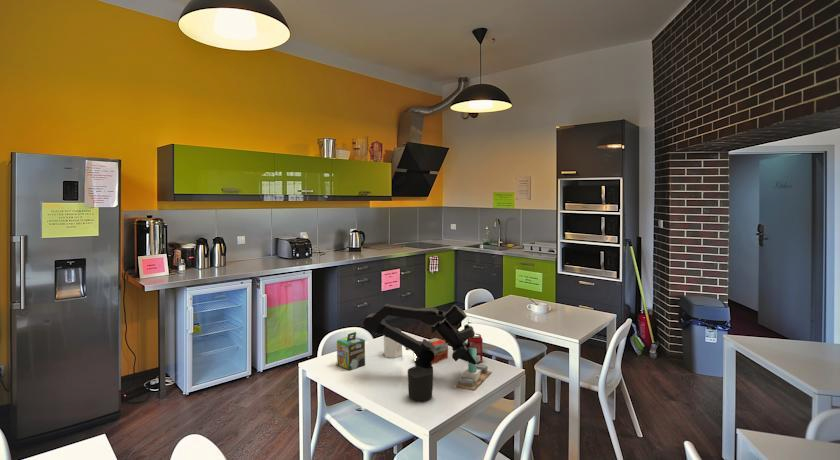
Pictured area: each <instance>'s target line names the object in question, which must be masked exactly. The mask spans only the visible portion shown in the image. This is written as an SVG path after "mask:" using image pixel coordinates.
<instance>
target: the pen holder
mask: <svg viewBox="0 0 840 460" xmlns="http://www.w3.org/2000/svg"><path fill="white" fill-rule="evenodd" d="M433 381H434V368H433V369H431V368H429V369H424V368H421V367H415V366H412V367H410V368H408V369H407V386H408V398H409V399H410V400H411V401H412V402H416V403H424V402H428V401H430V400H431V399H432V398H433V389H434V388H433V387H434V382H433Z"/></svg>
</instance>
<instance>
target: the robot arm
mask: <svg viewBox="0 0 840 460" xmlns="http://www.w3.org/2000/svg"><path fill="white" fill-rule="evenodd" d="M388 316H392V317H399V318H406V319H412V320H417V321H419V322H421V323H422V324H423V323H424V324H427V325H429V326H431V327H430V329H431V331H430V332H431V334H434V332H437V333H438V335H439V336H440V337H442V338H443V339H444V341H445V343H446V344H447V343H448V346H450V347H451V349H452V355H451V357H452V359H453V360H454V361H455V362H458V360H462V361H464V362H467V363H468V362H469V363H472V364H474V365H475V364H477V363H476V361H475V359H474V358H473V357H472V355H471V354H470V352H469V348H470V341H469V342H468V340H469V339H470V338H472V337H474V336H475V333H476V332H475V330H474V327H473V326H472V325H470V324H468V323H467V324H465V325H464V327H463V329H461V330H459V329H457V328H454V327H457V326H459V325H460V323H462V322H463V321H464V320H465V319H466V318H468V315H467V313H466V312H465V311H464V310H463V309H462V308H461V307H459V306H458V305H456V304H453V305H452V306H451V308H450V309H449V310H448V311H443V310H439V309H437V308H436V307H434V306H433V307H432V306H431V307H429V306H428V307H419V308H415V307H409V306H402V305H395V304H391V303H385V305H384V306H382V308H380V309H379V310H377V311H376V312H373V313H370V314H368V316H366V318H364V319H363V328H364V330H365V331H369V332H371V333H375V334H381V335H383V336H384V335H385V336H387V337H389V338H390V339H392V340H394V341H396V342H398V343H399V344H401V345H402V347H403V346H404V347H405V348H406V349H409V350H410V351H412V352H413V354H414V353H415V354H416V356H417V358H416V361H415V362H414V363H415V364H414V367H421V368H424V369H429V368H431V369H433V370H434V367H433V364H431V361H433V359H434V357H435V354H436V348H435V346H434V345H432V344H433V343H430V342H428V339H425V338H423V340H417V339H415V338H414V337H411V336H410V335H408V334H406V333H404V332H402V330H401V331H399V330H397V329H395V328H396V327H393V326H392V325H389V323H387V322H386V320H385V318H386V317H388ZM467 342H468V343H467ZM476 360H477V358H476Z"/></svg>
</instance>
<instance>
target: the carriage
mask: <svg viewBox="0 0 840 460" xmlns="http://www.w3.org/2000/svg"><path fill="white" fill-rule="evenodd" d="M469 352H470V354H471V355H472V357H473V358H474V359H475V361H476V355H477V349H476V348H469ZM467 364H468V365H467V366H468V368H467V369H466V370H465V371H463V377H467V378H468V377H469V378H474V382H476V381H477V380H478V379H479V378H480V370H477V369H476V364H477V363H476V364H475V365H474V364H472V363H469V362H467Z"/></svg>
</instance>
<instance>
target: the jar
mask: <svg viewBox="0 0 840 460" xmlns="http://www.w3.org/2000/svg"><path fill="white" fill-rule="evenodd" d="M394 328H395V329H397V330H399V331H401V332H402V329H401V328H399V327H394ZM383 355H384V357H385V358H388V357H391V359H396V357H397V358H399V357H402V356H403V345H401V344H399V343H398V342H396V341H394V340H392V339H390V338H389V337H387V336H385V335H383Z"/></svg>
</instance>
